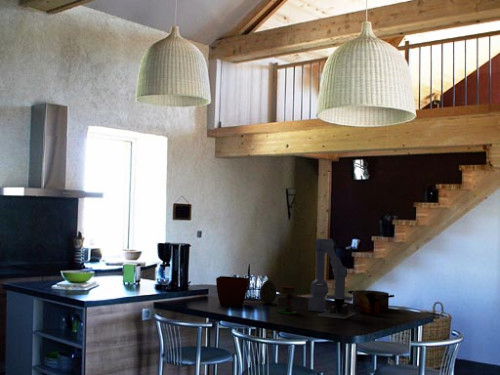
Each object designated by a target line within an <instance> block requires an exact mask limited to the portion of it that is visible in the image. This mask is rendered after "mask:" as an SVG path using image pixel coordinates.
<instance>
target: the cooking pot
mask: <svg viewBox="0 0 500 375" xmlns="http://www.w3.org/2000/svg"><path fill="white" fill-rule="evenodd" d="M347 293H348V294H350V295H352V309H353V310H356V311H359V306H360V293H374V294H376V299H379V313H383V312H387V311H389V305H390V303H389V302H390V300H389V299H390V298H394V297H395V295H394V294H390V293H389V292H386V291H379V290H368V289H365V290H364V289H358V290H356V289H355V290H347ZM376 311H377V302H376Z"/></svg>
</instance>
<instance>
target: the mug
mask: <svg viewBox="0 0 500 375" xmlns="http://www.w3.org/2000/svg"><path fill="white" fill-rule="evenodd" d="M376 302H377V311H376ZM358 313H359V315H363V316H375V315H380V312H379V299H376V294H374V293H360V306H359V310H358Z"/></svg>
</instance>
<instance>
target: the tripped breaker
mask: <svg viewBox="0 0 500 375" xmlns="http://www.w3.org/2000/svg"><path fill="white" fill-rule="evenodd" d="M336 309H337V308H336V305H335V306H330V307H329V310H330V313H332V314H336Z"/></svg>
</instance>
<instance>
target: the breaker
mask: <svg viewBox="0 0 500 375" xmlns="http://www.w3.org/2000/svg"><path fill="white" fill-rule="evenodd" d="M343 306H345V311H346V312H348V310H349V304H345V303H343Z"/></svg>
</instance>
